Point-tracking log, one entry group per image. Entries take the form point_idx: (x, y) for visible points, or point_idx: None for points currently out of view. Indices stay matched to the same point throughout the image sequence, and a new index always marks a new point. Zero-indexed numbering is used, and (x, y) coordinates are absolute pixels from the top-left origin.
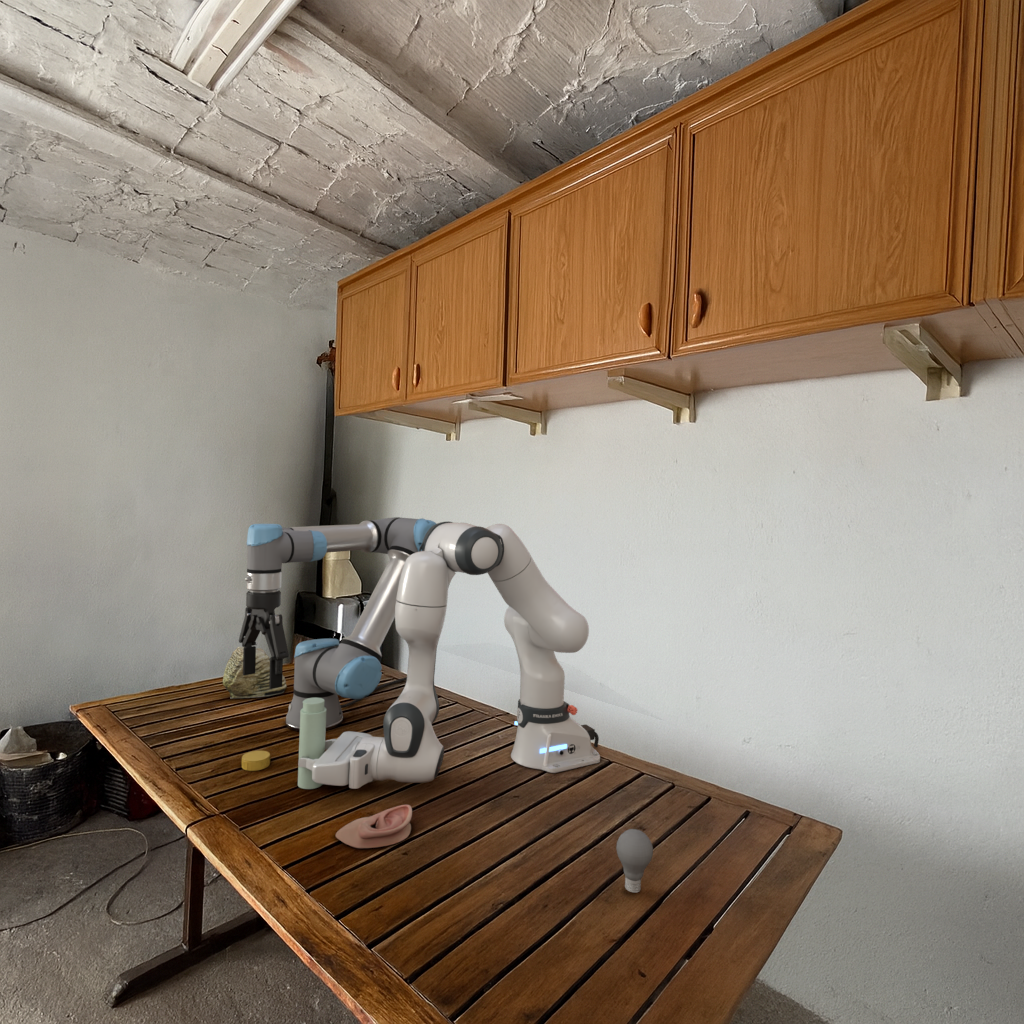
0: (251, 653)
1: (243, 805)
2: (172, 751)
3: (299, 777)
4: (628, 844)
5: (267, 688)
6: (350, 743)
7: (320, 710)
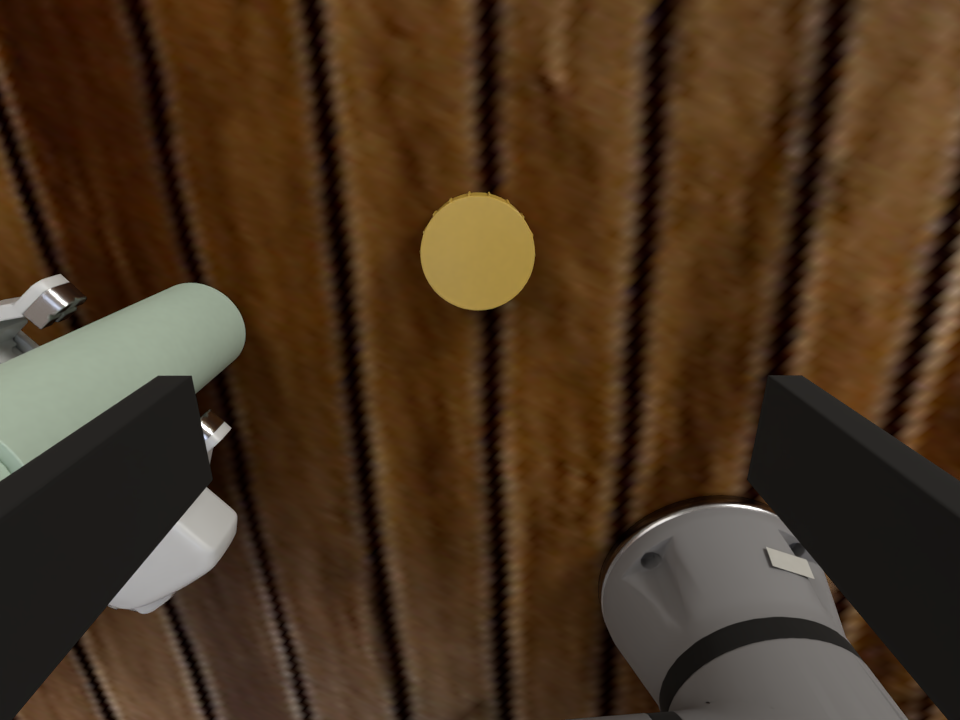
0: (918, 609)
1: (143, 42)
2: (890, 18)
3: (171, 291)
4: None
5: None
6: None
7: None
